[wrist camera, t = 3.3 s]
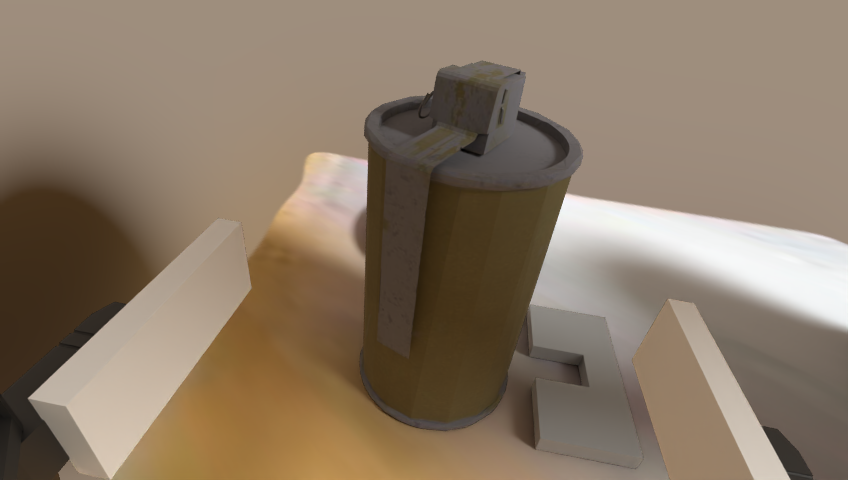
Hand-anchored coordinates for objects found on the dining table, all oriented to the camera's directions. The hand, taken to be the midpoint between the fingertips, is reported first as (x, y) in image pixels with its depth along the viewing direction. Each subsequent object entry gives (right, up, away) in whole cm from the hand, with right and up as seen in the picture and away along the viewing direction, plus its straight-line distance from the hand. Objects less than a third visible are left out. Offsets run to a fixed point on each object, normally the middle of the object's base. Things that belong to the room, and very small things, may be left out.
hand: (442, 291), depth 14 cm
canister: (0, -7, +17) cm, 19 cm away
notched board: (+10, -8, +17) cm, 21 cm away
